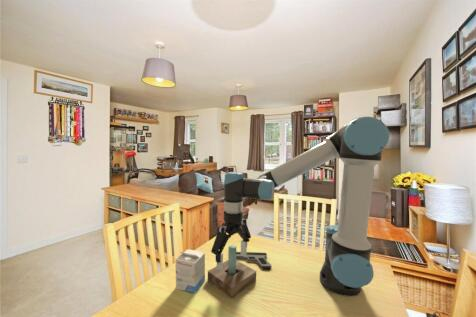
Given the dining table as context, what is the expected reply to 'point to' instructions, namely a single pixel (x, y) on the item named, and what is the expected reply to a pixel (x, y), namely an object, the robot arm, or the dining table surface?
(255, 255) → the handgun
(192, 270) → the ink box
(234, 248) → the peg
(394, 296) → the dining table surface
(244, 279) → the socket block
